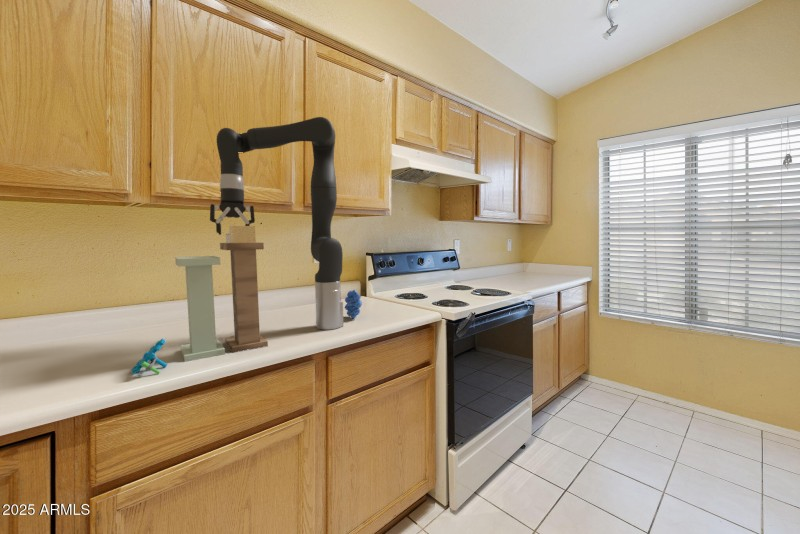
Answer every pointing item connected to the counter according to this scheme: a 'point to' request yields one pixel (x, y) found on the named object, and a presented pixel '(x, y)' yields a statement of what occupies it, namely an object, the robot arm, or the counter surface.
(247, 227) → the tan wooden block
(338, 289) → the robot arm
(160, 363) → the tinkertoy rod frame
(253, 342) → the tall stand
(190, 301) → the short stand
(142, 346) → the counter surface
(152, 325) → the counter surface
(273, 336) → the counter surface
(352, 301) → the grapes
